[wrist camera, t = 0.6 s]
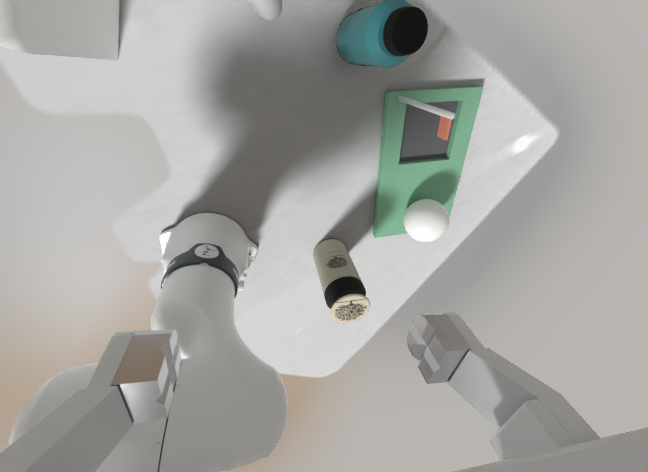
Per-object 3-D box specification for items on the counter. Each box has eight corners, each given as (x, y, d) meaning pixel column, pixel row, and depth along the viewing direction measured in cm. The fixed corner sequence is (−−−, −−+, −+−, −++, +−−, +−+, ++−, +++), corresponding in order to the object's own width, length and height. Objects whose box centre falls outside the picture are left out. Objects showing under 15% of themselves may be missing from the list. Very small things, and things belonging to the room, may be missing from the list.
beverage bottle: (338, 69, 45) (384, 80, 29) (327, 19, 41) (373, 0, 25) (375, 56, 45) (442, 60, 29) (368, 5, 42) (441, -23, 25)
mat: (443, 224, 68) (492, 270, 54) (373, 234, 65) (405, 285, 51) (477, 86, 51) (563, 99, 37) (385, 91, 49) (439, 108, 34)
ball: (422, 230, 66) (443, 253, 59) (390, 223, 63) (407, 246, 56) (441, 196, 62) (466, 216, 54) (408, 187, 59) (429, 207, 51)
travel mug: (342, 265, 69) (365, 323, 54) (310, 265, 67) (326, 325, 52) (349, 238, 65) (376, 293, 50) (315, 237, 63) (333, 294, 48)
